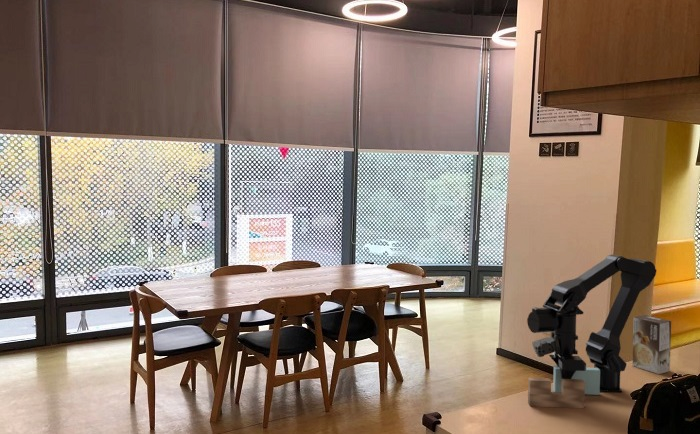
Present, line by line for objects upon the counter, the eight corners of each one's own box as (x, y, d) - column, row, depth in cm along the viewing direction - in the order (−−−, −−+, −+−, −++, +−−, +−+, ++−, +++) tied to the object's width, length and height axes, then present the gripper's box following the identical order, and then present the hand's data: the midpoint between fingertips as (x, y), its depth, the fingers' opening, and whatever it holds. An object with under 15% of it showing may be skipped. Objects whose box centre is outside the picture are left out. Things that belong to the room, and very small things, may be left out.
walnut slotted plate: (581, 405, 144) (582, 379, 144) (584, 408, 142) (585, 382, 142) (527, 402, 145) (528, 377, 145) (529, 406, 143) (530, 380, 143)
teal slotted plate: (596, 392, 152) (597, 367, 152) (599, 394, 150) (600, 370, 150) (553, 390, 153) (553, 366, 153) (555, 393, 151) (555, 368, 151)
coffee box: (671, 371, 169) (673, 320, 168) (658, 374, 166) (660, 323, 165) (643, 362, 177) (645, 314, 176) (630, 365, 174) (632, 316, 173)
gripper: (527, 320, 161) (526, 371, 162) (543, 339, 142) (542, 396, 144) (566, 321, 160) (564, 373, 161) (587, 340, 141) (585, 398, 142)
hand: (563, 384), depth 152 cm, fingers closed on teal slotted plate, 2 cm apart
